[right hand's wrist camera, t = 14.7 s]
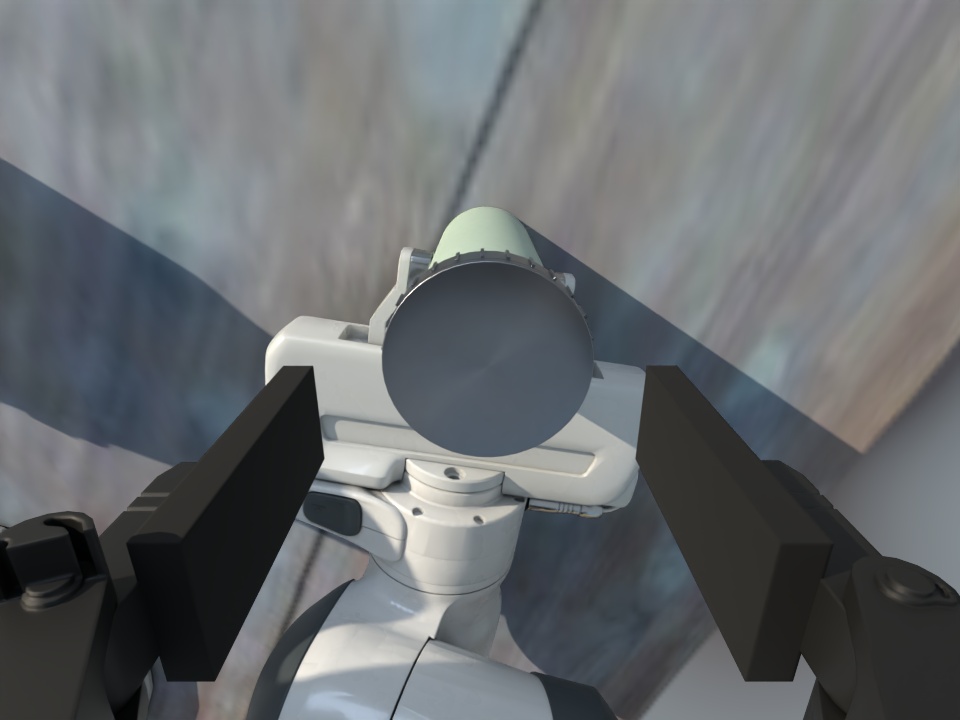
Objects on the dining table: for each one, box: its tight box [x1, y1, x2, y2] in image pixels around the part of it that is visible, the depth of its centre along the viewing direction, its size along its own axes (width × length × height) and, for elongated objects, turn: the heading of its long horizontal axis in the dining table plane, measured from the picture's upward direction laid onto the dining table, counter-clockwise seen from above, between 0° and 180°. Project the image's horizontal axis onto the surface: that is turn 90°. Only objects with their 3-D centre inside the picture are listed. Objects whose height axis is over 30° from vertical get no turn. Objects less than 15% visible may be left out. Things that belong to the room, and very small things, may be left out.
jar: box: [429, 207, 543, 269], centre depth 25 cm, size 6×6×17 cm
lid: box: [381, 248, 594, 457], centre depth 17 cm, size 7×7×2 cm
